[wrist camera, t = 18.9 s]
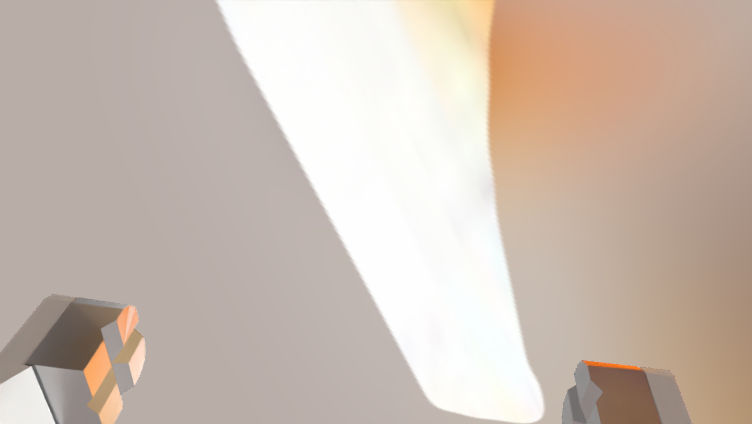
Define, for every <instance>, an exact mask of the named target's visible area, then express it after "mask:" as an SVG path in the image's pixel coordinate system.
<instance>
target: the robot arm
mask: <svg viewBox="0 0 752 424" xmlns="http://www.w3.org/2000/svg"><path fill="white" fill-rule="evenodd" d="M138 321H139V317H138V314H137V310H136V307H134V306H131V305H126V304H120V303H113V302H106V301H99V300H93V299H86V298H80V297H79V298H77V297H70V296H64V295H56V294H52V295H51V296H49V297H47V298H45V299H44V300H43V301H42V302H41V304H40V305H39V306H38V307H37V308H36V310H35V311H34V312H33V313H32V315H31V316H30V317H29V318H28V319H27V321H26V322H25V323H24V324H23V326H22V327H21V328H20V329H19V330H18V332H17V333H16V334H15V335H14V337H13V338H12V339H11V340H10V342H9V343H8V344H7V345H6V346H5V348H4V349H3V350H2V351H1V353H0V424H114V423H115V421H116V419H117V417H118V415H119V413H120V412H121V410H122V408H123V403H122V398H121V394H123V393H124V392H126V391H128V390H129V389H131V388H132V387H134V386H135V384H136V382H137V380H138V378H139V376H140V374H141V371H142V368H143V364H144V360H145V342H144V337H143V336H142V335H141V334H140V333H139V332H138V331H137V330H136V329H135V326H136V324H137V323H138ZM574 376H575V382H576V385H575V386H574V387H572V388H570V389H569V390H568V391H567V394H566V397H565V400H564V403H563V411H562V424H693V423H692V421H691V418H690V415H689V413H688V410H687V408H686V405H685V403H684V400H683V397H682V395H681V392H680V389H679V387H678V384H677V382H676V379H675V376H674V375H673V374H672V373H671V372H670V371H669V370H662V369H652V368H645V367H637V366H630V365H620V364H611V363H602V362H594V361H585V360H582V361H581V362H580V363H579V364H578V365H577V368H576V370H575V373H574Z"/></svg>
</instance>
